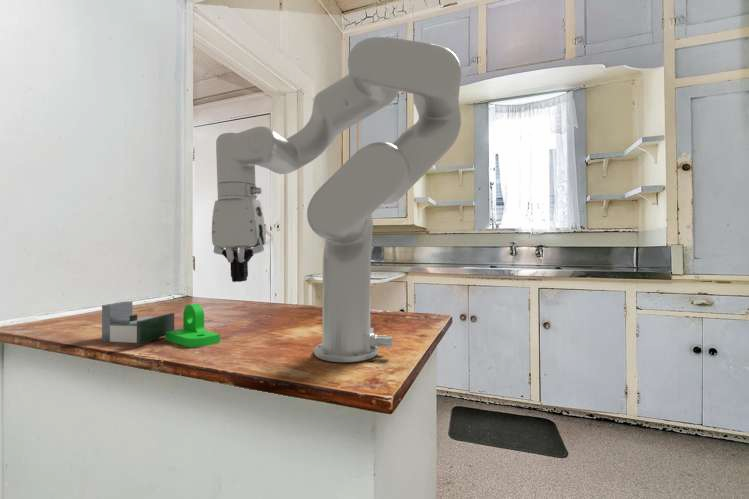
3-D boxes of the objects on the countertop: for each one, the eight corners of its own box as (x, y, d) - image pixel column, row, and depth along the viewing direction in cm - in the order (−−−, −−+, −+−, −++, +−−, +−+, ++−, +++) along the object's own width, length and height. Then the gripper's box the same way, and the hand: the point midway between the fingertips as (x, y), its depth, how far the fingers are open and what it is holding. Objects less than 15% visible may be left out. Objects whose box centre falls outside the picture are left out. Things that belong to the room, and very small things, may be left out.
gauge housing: (160, 336, 82) (160, 302, 82) (139, 342, 76) (139, 306, 76) (124, 334, 83) (124, 301, 83) (101, 341, 77) (102, 305, 77)
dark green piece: (174, 332, 82) (174, 310, 82) (140, 344, 72) (140, 319, 72) (149, 331, 82) (149, 310, 82) (112, 342, 73) (112, 318, 73)
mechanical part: (165, 340, 78) (165, 305, 78) (191, 335, 83) (191, 302, 83) (193, 349, 71) (193, 311, 71) (220, 343, 76) (220, 307, 76)
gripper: (278, 195, 75) (280, 279, 75) (214, 198, 77) (217, 280, 77) (262, 189, 68) (265, 282, 68) (192, 193, 70) (195, 283, 70)
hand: (239, 281), depth 72 cm, fingers closed
